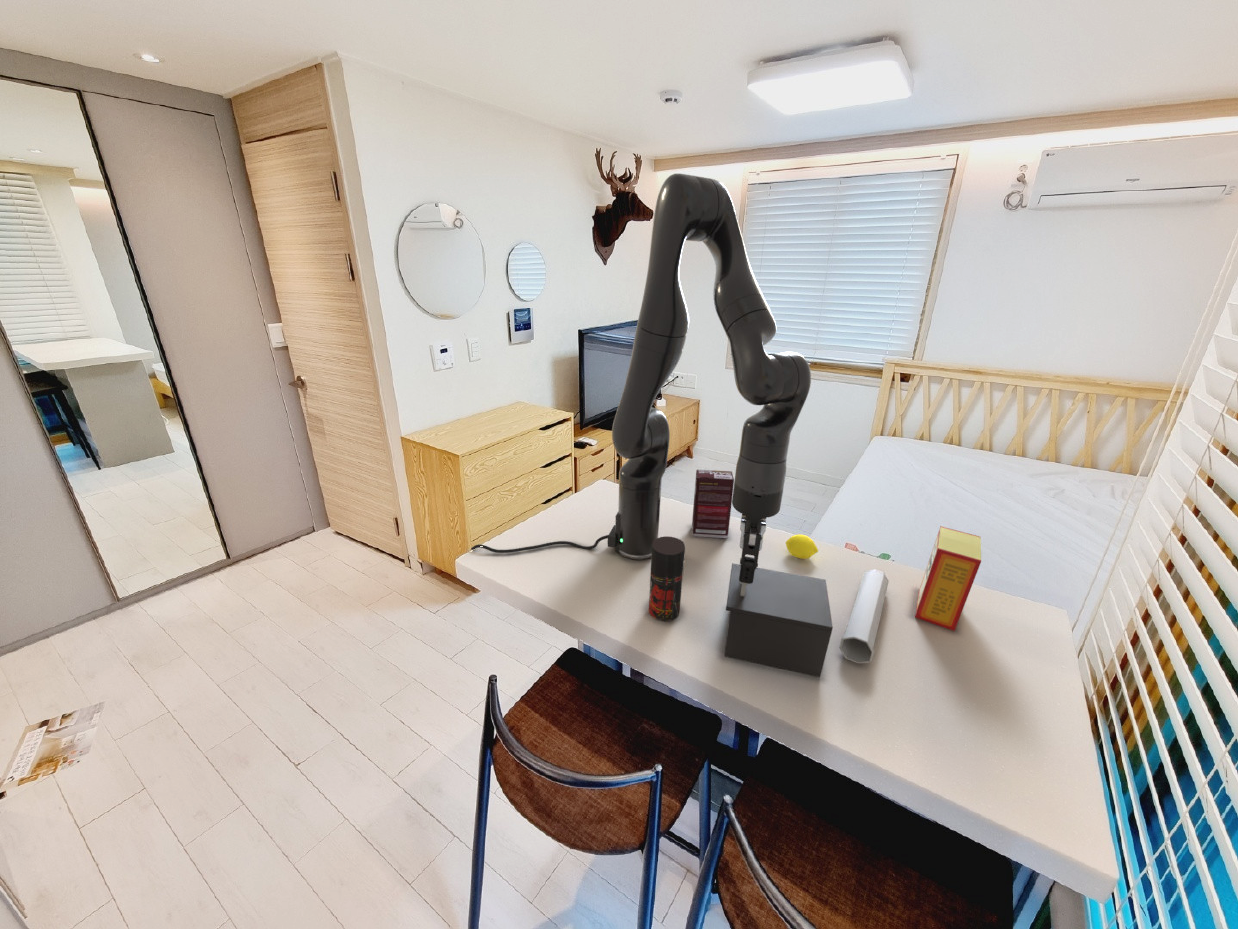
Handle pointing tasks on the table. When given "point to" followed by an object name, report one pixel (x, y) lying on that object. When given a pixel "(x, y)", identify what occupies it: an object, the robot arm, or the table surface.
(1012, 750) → the table surface
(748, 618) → the dark grey box
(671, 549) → the deodorant
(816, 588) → the lid
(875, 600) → the tube
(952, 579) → the baking soda box
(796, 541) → the lemon
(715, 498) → the supplement box
